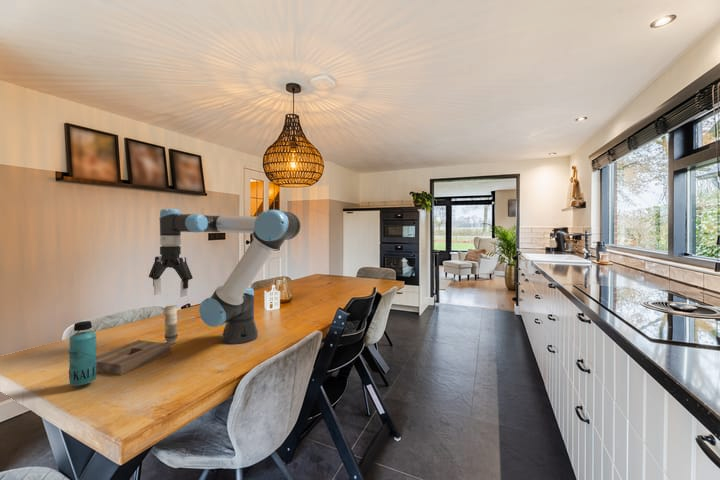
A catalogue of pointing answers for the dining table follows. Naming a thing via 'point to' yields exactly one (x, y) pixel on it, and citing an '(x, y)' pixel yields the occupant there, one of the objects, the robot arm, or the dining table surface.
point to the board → (130, 356)
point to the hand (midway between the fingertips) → (170, 295)
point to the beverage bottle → (82, 355)
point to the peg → (171, 324)
